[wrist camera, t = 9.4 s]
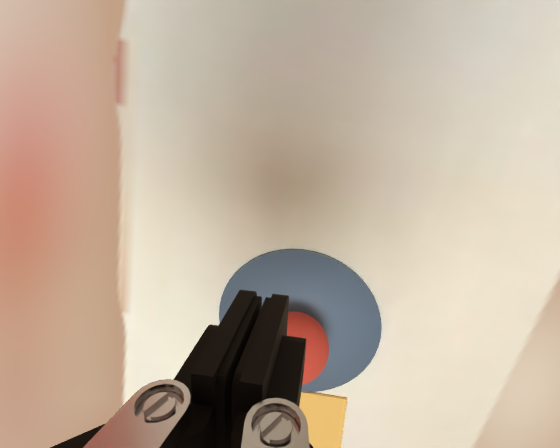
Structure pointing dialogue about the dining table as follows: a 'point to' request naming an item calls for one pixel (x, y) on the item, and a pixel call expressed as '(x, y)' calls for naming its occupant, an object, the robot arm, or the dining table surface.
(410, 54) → the dining table surface
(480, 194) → the dining table surface
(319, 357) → the ball
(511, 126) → the dining table surface
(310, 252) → the disc
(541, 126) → the dining table surface
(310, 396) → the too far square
